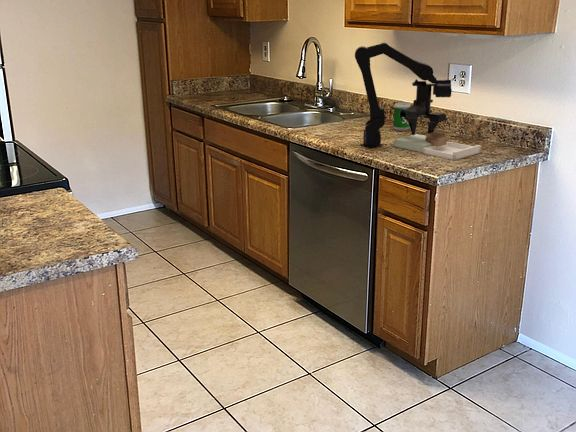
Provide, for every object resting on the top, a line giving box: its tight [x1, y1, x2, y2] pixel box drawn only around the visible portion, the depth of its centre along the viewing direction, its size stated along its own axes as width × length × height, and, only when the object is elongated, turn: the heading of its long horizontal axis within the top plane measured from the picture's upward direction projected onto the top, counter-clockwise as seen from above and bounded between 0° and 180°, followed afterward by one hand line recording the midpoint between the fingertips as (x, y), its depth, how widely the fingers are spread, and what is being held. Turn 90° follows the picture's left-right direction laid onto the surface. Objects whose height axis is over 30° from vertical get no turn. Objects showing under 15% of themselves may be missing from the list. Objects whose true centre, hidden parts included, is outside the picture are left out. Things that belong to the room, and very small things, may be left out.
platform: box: [394, 133, 433, 153], centre depth 246 cm, size 14×14×3 cm
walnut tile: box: [425, 130, 449, 147], centre depth 239 cm, size 6×6×3 cm
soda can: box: [392, 101, 412, 132], centre depth 276 cm, size 8×8×12 cm
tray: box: [421, 141, 482, 161], centre depth 235 cm, size 15×17×3 cm
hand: (421, 136), depth 245 cm, fingers open, 7 cm apart
